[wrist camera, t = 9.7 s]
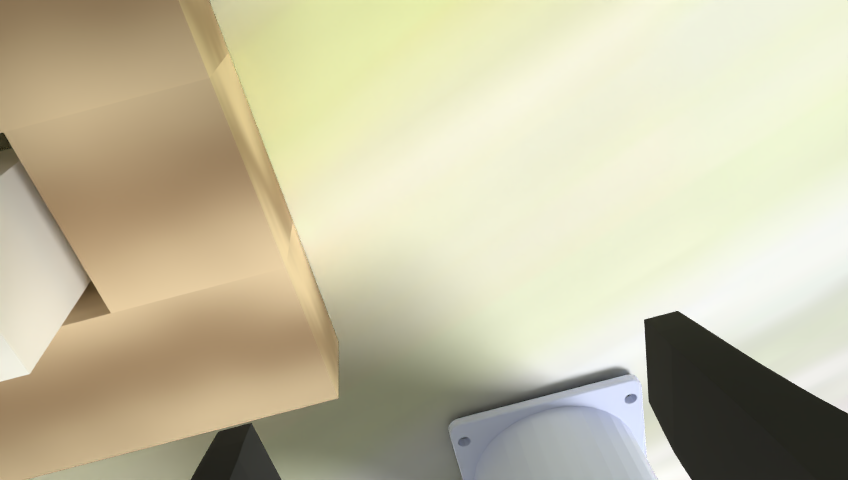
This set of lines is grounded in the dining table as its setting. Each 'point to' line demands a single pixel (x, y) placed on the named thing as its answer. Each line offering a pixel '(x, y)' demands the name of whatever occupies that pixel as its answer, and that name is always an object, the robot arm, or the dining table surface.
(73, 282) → the plug
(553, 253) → the dining table surface
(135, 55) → the socket plate
